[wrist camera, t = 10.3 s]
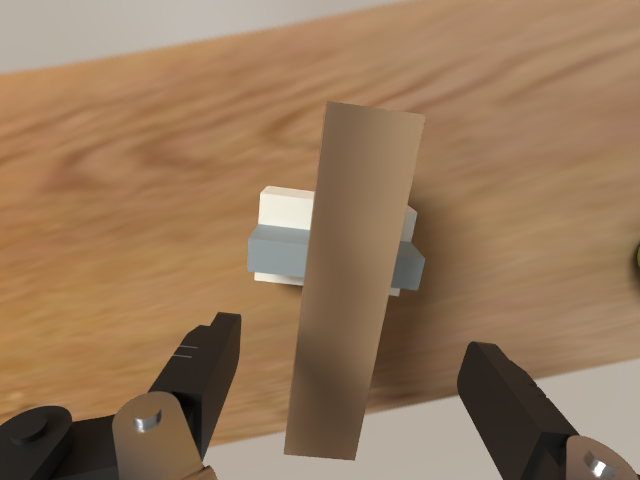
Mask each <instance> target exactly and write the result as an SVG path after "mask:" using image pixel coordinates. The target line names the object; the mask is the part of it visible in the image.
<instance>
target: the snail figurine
mask: <svg viewBox="0 0 640 480" xmlns="http://www.w3.org/2000/svg"><path fill="white" fill-rule="evenodd" d="M637 259H638V265H639V267H640V247H639V249H638V254H637Z"/></svg>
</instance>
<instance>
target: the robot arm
mask: <svg viewBox="0 0 640 480" xmlns="http://www.w3.org/2000/svg"><path fill="white" fill-rule="evenodd" d="M240 335H241V315H240V314H232V313H223V312H218V313H217V315H216V317H215V318H214V320H213V322H212V323H211V325H210V326H204V325H199V326H198V327H196V328H195V329H193V330H192V331H191V332H189V333H188V334H187V335H186V336H185V338H184V339H183V341H182V342H181V344H180V347H178V348H177V350H176V351H175V353H174V355H173V356H172V357H171V358H170V360H169V361H168V363H167V364H166V366H165V367H164V369H163V370H162V372H161V373H160V375H159V376H158V378H157V379H156V381H155V382H154V384H153V385H152V386H151V388H150V389H149V391H148V392H147V393H144V394H141V395H139V396H136V397H135V398H133V399H131V400H129V401H128V402H126V403H125V404H124V405H123V406H122V407H121V408H120V409H119V410H118V411H117V413H116V414H114V415H111V416H106V417H100V418H94V419H88V420H82V421H76V422H72V416H71V414H70V412H69V411H68V410H67V409H65V408H63V407H60V406H43V407H38V408H34V409H31V410H28V411H25V412H23V413H21V414H19V415H17V416H15V417H13V418H11V419H9V420H8V421H6V422H5V423H3V424H2V425H1V426H0V480H218V479H217V477H216V474H215V472H214V470H213V469H212V467H210V466H207V467H204V465H203V463H202V462H203V459H204V456H205V454H206V451H207V448H208V445H209V443H210V440H211V437H212V435H213V432H214V429H215V426H216V424H217V421H218V418H219V415H220V413H221V410H222V407H223V405H224V402H225V399H226V396H227V394H228V391H229V388H230V386H231V383H232V380H233V377H234V375H235V372H236V369H237V365H238V360H239V353H240ZM457 388H458V393H459V396H460V398H461V399H462V401H463V404H464V405H465V407H466V409H467V411H468V413H469V415H470V417H471V419H472V421H473V423H474V425H475V426H476V429H477V430H478V432H479V434H480V436H481V438H482V440H483V442H484V444H485V446H486V448H487V450H488V452H489V453H490V455H491V457H492V459H493V461H494V463H495V465H496V467H497V469H498V471H499V473H500V475H501V476H502V478H503V480H640V475H638V474H636V473H635V471H634V470H633V469H632V467H631V466H630V465H629V464H628V463H627V462H626V461H625V460H624V459H623V458H622V457H621V456H620V455H618V454H617V453H616V452H614V451H613V450H612V449H610V448H609V447H607V446H605V445H604V444H602V443H600V442H598V441H596V440H593V439H591V438H588V437H584V436H580V435H579V433H578V432H577V431H576V430H575V429H574V428H573V426H572V425H571V424H570V423H569V422H568V421H567V419H566V418H565V417H564V416H563V415H562V414H561V412H560V411H559V410H558V409H557V408H556V407H555V405H554V404H553V403H552V402H551V401H550V400H549V398H546V395H545V394H544V392H543V391H542V390H541V389H540V388H539V387H537V384H536V383H535V382H534V381H533V380H532V378H531V377H530V376H529V375H528V374H527V372H525V371H524V370H523V369H521V368H520V367H519V366H517V365H516V364H515V363H513V362H512V361H510V360H509V359H508V358H507V357H506V356H505V354H504V353H503V352H502V351H501V350H500V348H499V347H498V346H497V345H496V344H491V343H482V342H471V343H470V344H469V345H468V347H467V350H466V353H465V356H464V359H463V363H462V366H461V369H460V372H459V375H458V379H457Z"/></svg>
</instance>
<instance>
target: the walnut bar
mask: <svg viewBox="0 0 640 480" xmlns="http://www.w3.org/2000/svg"><path fill="white" fill-rule="evenodd" d="M425 116H426V115H423V114H416V113H408V112H401V111H394V110H387V109H380V108H373V107H365V106H358V105H351V104H344V103H337V102H329V101H327V104H326V108H325V113H324V118H323V127H322V135H321V143H320V151H319V159H318V168H317V176H316V184H315V192H314V200H313V209H312V217H311V225H310V233H309V241H308V249H307V258H306V266H305V274H304V282H303V290H302V299H301V307H300V315H299V323H298V331H297V340H296V348H295V356H294V364H293V372H292V381H291V390H290V399H289V409H288V418H287V428H286V437H285V447H284V454H286V455H297V456H309V457H321V458H332V459H343V460H355V457H356V451H357V447H358V442H359V437H360V432H361V428H362V423H363V418H364V413H365V408H366V403H367V398H368V394H369V389H370V384H371V379H372V374H373V369H374V364H375V359H376V355H377V350H378V345H379V340H380V335H381V330H382V325H383V321H384V316H385V311H386V306H387V301H388V296H389V291H390V287H391V282H392V277H393V272H394V267H395V262H396V257H397V253H398V248H399V243H400V238H401V233H402V228H403V223H404V219H405V214H406V209H407V204H408V199H409V194H410V189H411V185H412V180H413V175H414V170H415V165H416V160H417V155H418V150H419V146H420V141H421V136H422V131H423V126H424V121H425Z"/></svg>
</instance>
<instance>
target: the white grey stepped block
mask: <svg viewBox="0 0 640 480" xmlns="http://www.w3.org/2000/svg"><path fill="white" fill-rule="evenodd" d="M313 200H314V192H313V191H306V190H298V189H290V188H282V187H274V186H267V187H266V188H265V189H264V190H263V191H262V192H261V194H260V208H259V223H258V225H257V227H256V228H255V230H254V231H253V233H252V234H251V236H250V237H249V244H248V261H247V271H249V272H255V280H258V281H267V282H276V283H285V284H294V285H303V282H304V274H305V266H306V258H307V249H308V241H309V233H310V225H311V217H312V209H313ZM416 218H417V212H416V211H415V210H414V209H412V208H411V207H410V206H408V205H407V209H406V214H405V219H404V223H403V228H402V233H401V238H400V243H399V248H398V253H397V257H396V262H395V267H394V272H393V277H392V282H391V287H390V291H389V295H392V296H399V292H400V289H408V290H417V291H418V288H419V284H420V280H421V276H422V272H423V268H424V264H425V260H426V259H425V258H424V257H423V256H422V254H421V253H420V252H419V251H418V250H417V249H416V247H415V246H414V245H413V244H412V243H411V240H412V235H413V231H414V226H415V222H416Z"/></svg>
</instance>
